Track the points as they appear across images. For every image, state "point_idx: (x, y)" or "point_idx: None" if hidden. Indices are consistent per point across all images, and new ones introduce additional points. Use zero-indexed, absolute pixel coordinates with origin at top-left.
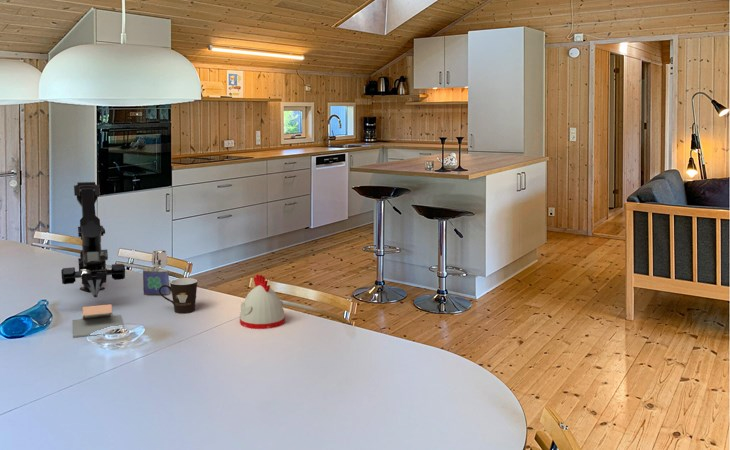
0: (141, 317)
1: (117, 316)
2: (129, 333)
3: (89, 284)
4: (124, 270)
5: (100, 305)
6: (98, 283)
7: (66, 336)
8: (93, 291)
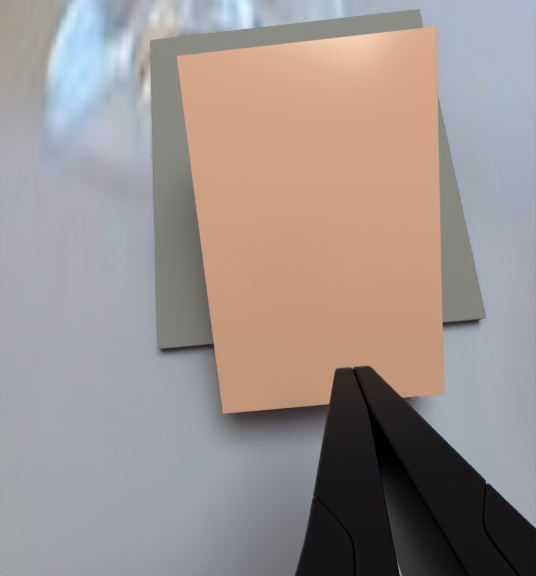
0: (35, 285)
1: (179, 313)
2: (133, 23)
3: (527, 524)
4: None
5: (275, 46)
6: (337, 535)
7: (456, 48)
8: (393, 401)
